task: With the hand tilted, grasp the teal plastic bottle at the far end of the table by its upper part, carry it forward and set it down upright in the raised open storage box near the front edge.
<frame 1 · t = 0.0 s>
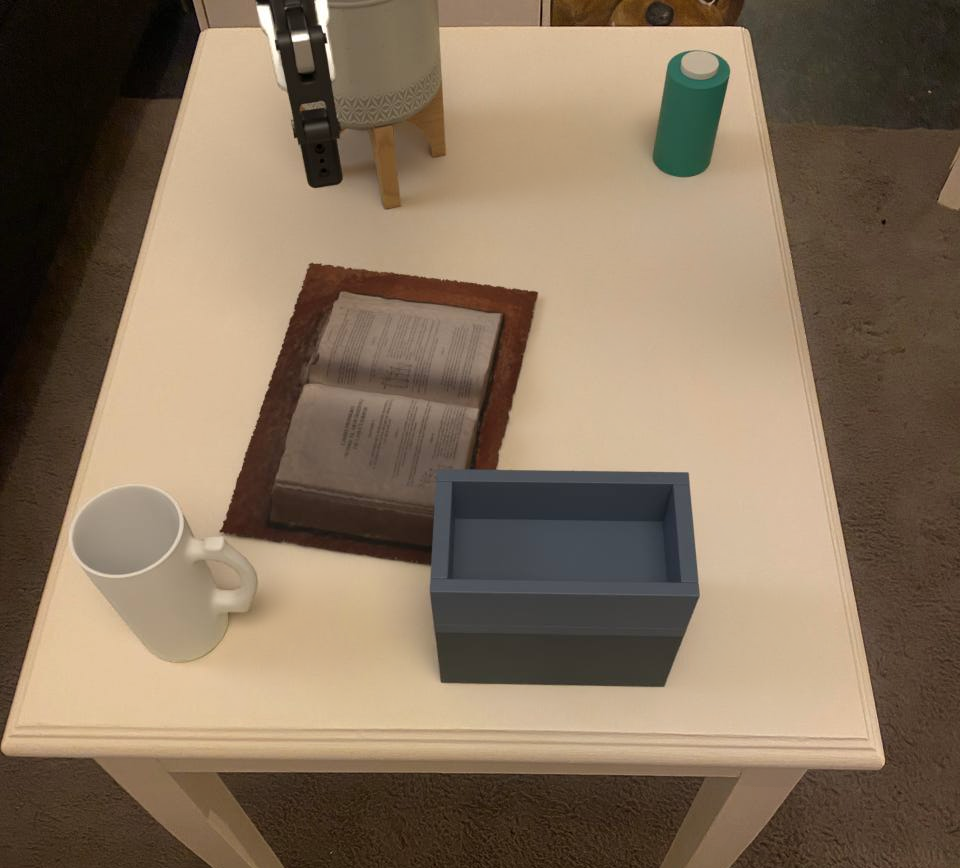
hand: (316, 140, 61), 19 cm above the table, tool pointing down, fingers open, 8 cm apart
book: (390, 411, 75), on the table
mug: (208, 625, 67), on the table
plastic bottle: (681, 157, 88), on the table
planter: (377, 164, 89), on the table
open storage box: (551, 629, 66), on the table
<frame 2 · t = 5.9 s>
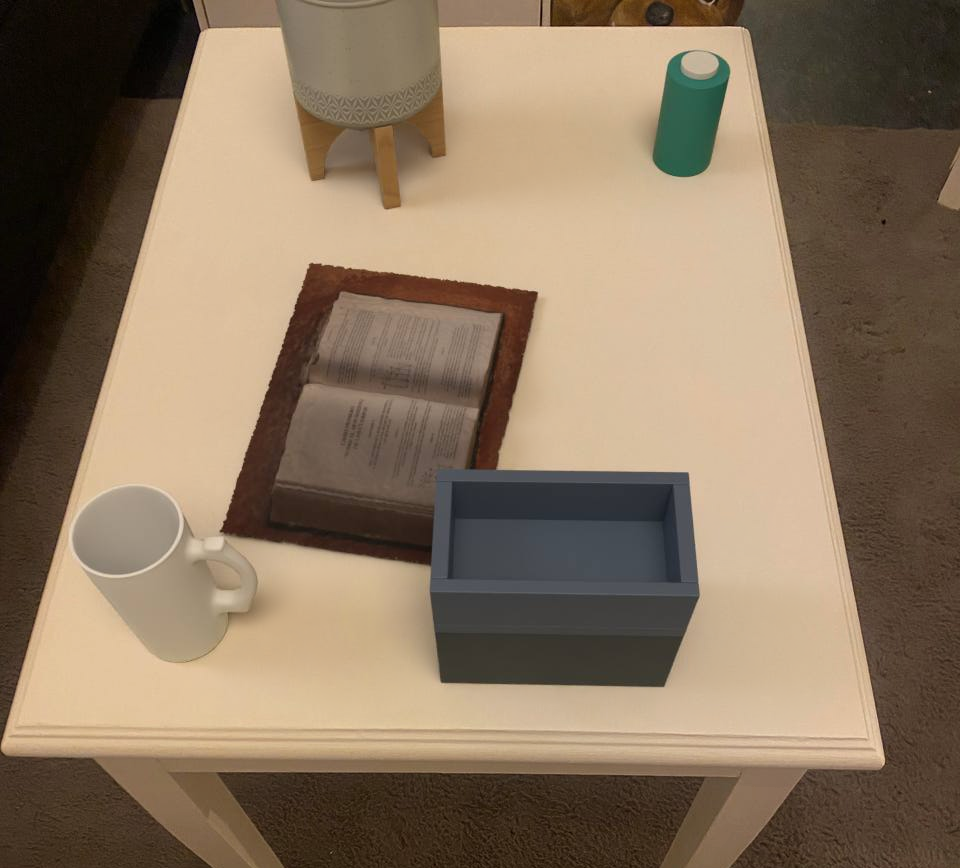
nothing on the table moved.
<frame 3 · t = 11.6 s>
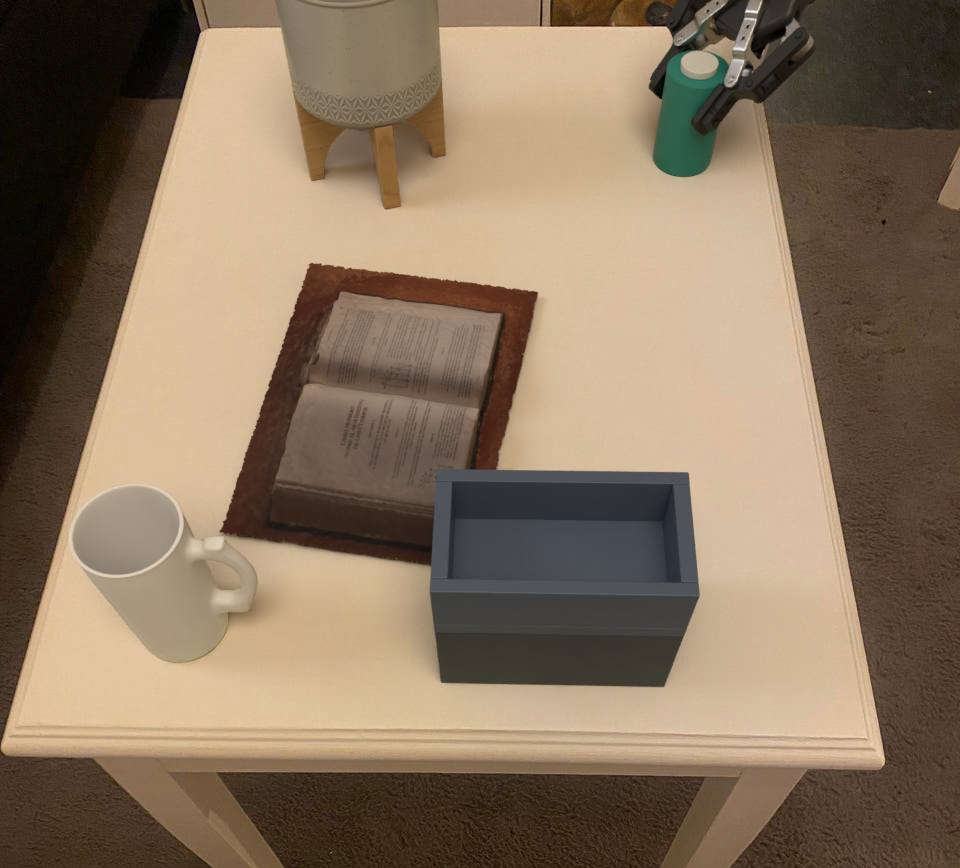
hand: (676, 111, 83), 5 cm above the table, tool tilted 45°, fingers closed on plastic bottle, 5 cm apart
plastic bottle: (681, 157, 88), on the table, touching gripper
everything else where it was.
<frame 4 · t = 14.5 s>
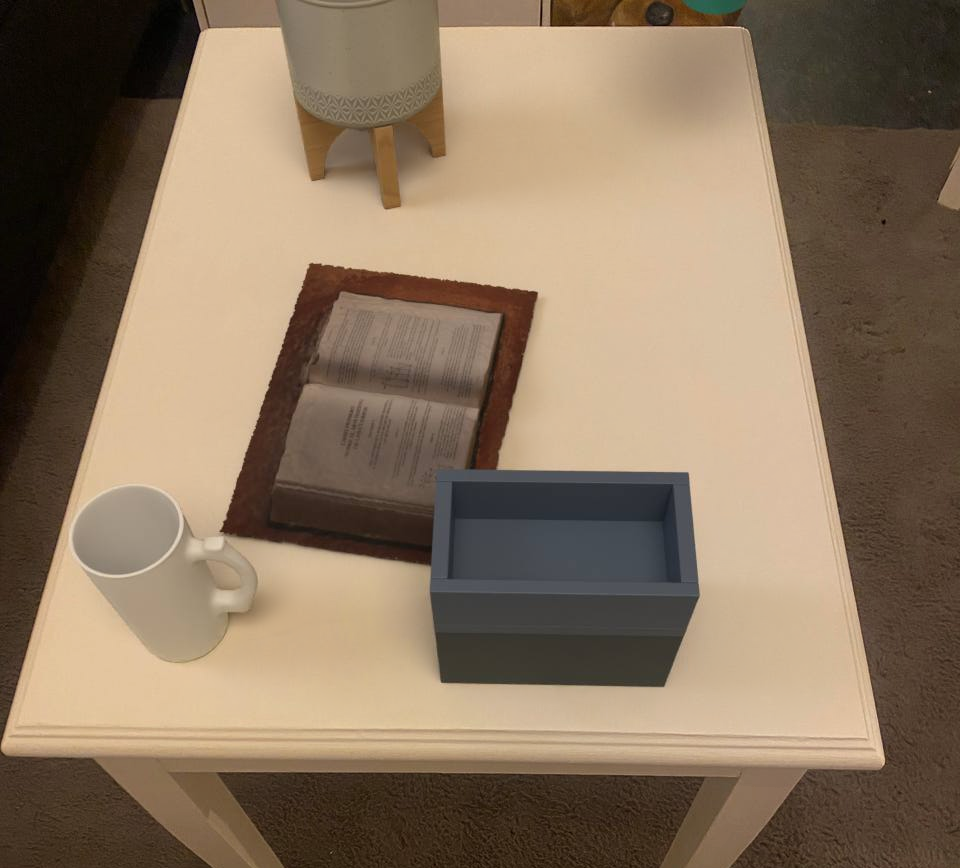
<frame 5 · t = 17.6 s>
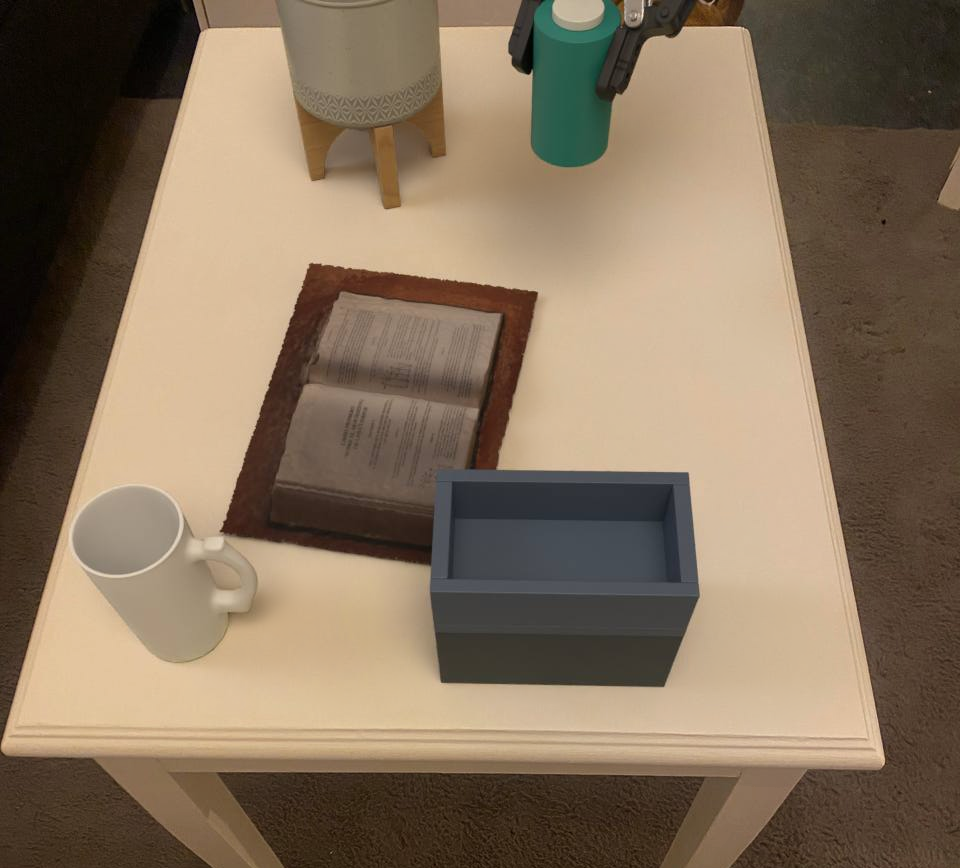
hand: (562, 82, 60), 21 cm above the table, tool tilted 45°, fingers closed on plastic bottle, 5 cm apart
plastic bottle: (569, 142, 66), point 16 cm above the table, touching gripper
everything else where it was.
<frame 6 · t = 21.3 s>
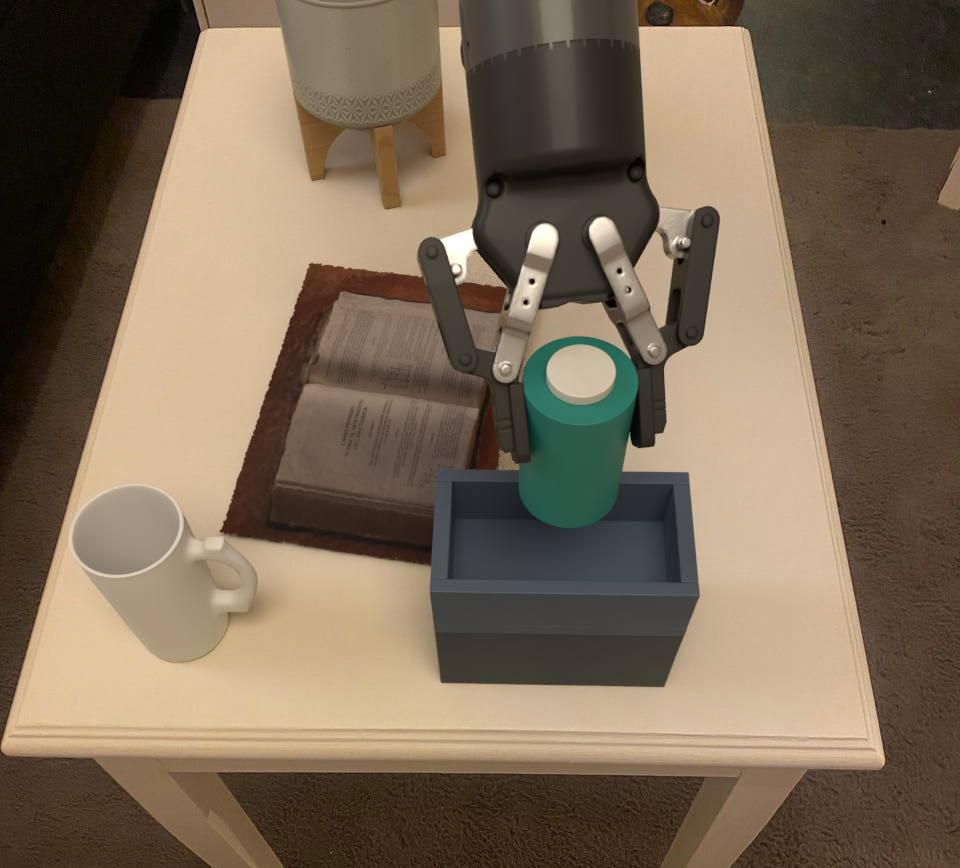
hand: (582, 452, 46), 22 cm above the table, tool tilted 45°, fingers closed on plastic bottle, 5 cm apart
plastic bottle: (568, 486, 51), point 17 cm above the table, touching gripper
everything else where it was.
when the fingers open (14 cm above the table, at t = 24.0 s): plastic bottle stays where it is, resting on open storage box.
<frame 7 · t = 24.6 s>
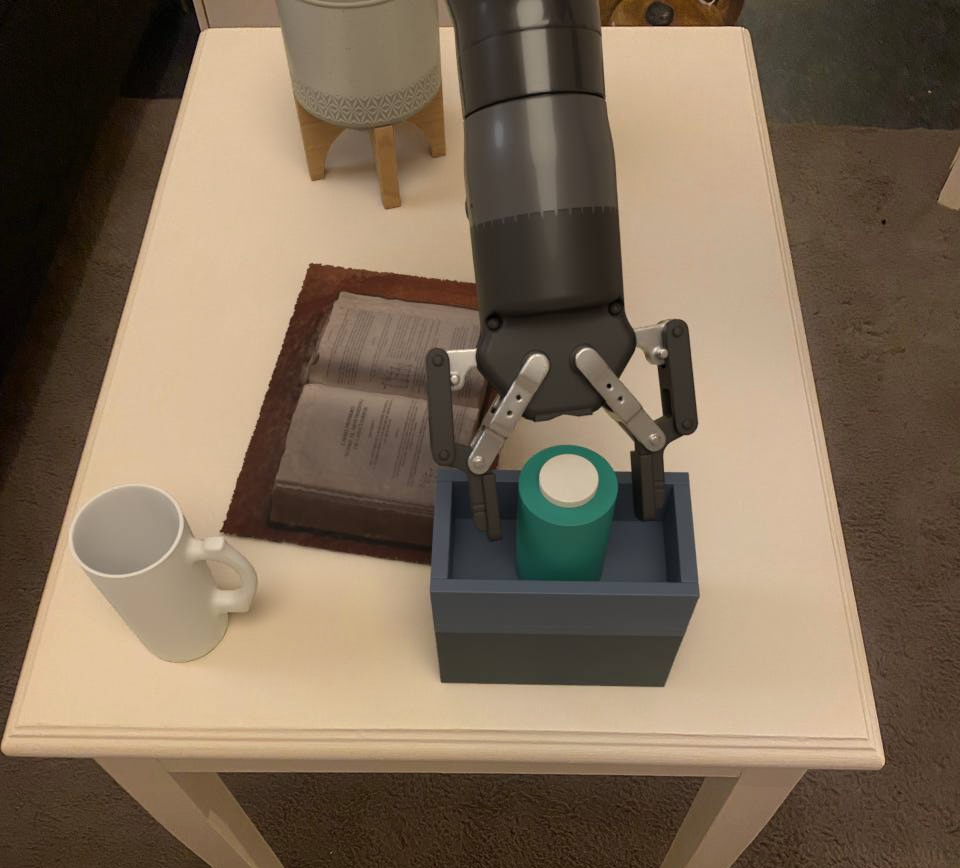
hand: (570, 528, 52), 15 cm above the table, tool tilted 45°, fingers open, 8 cm apart
plastic bottle: (558, 565, 58), point 8 cm above the table, touching open storage box
everything else where it was.
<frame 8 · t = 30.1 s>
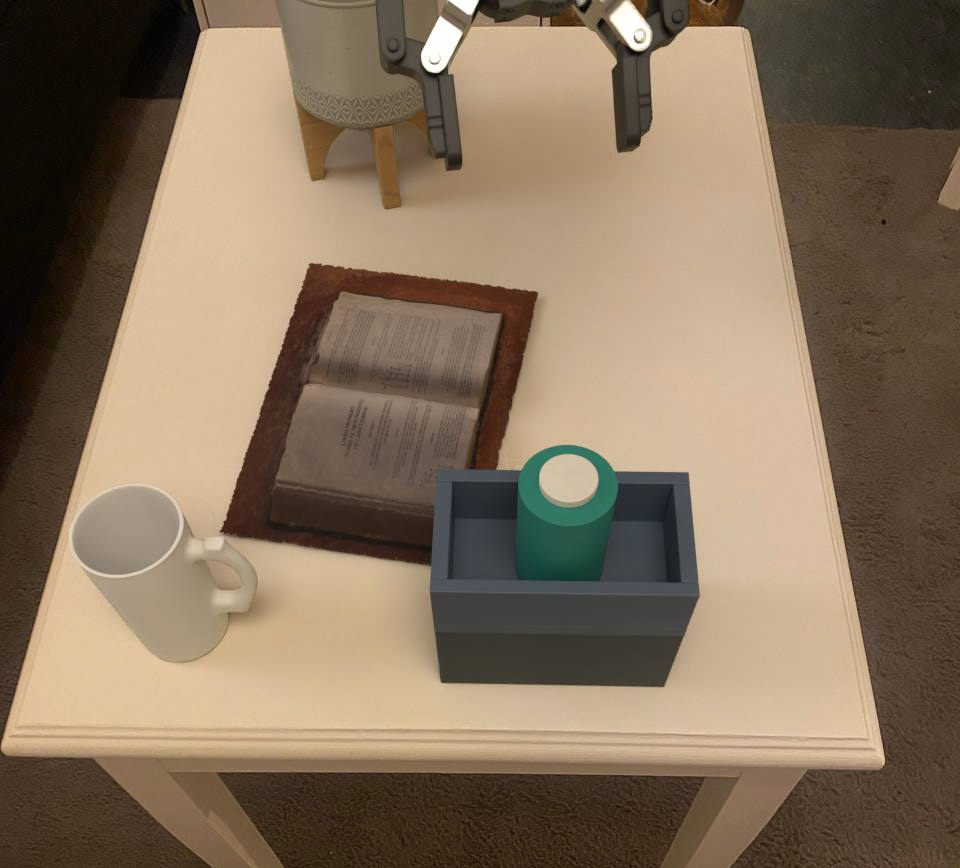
hand: (542, 158, 45), 29 cm above the table, tool tilted 45°, fingers open, 8 cm apart
nothing on the table moved.
at the end: plastic bottle inside the target area on the open storage box (0.0 cm from its centre), point 8.5 cm above the open storage box's base; plastic bottle tilted 0°; the gripper is holding nothing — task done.
